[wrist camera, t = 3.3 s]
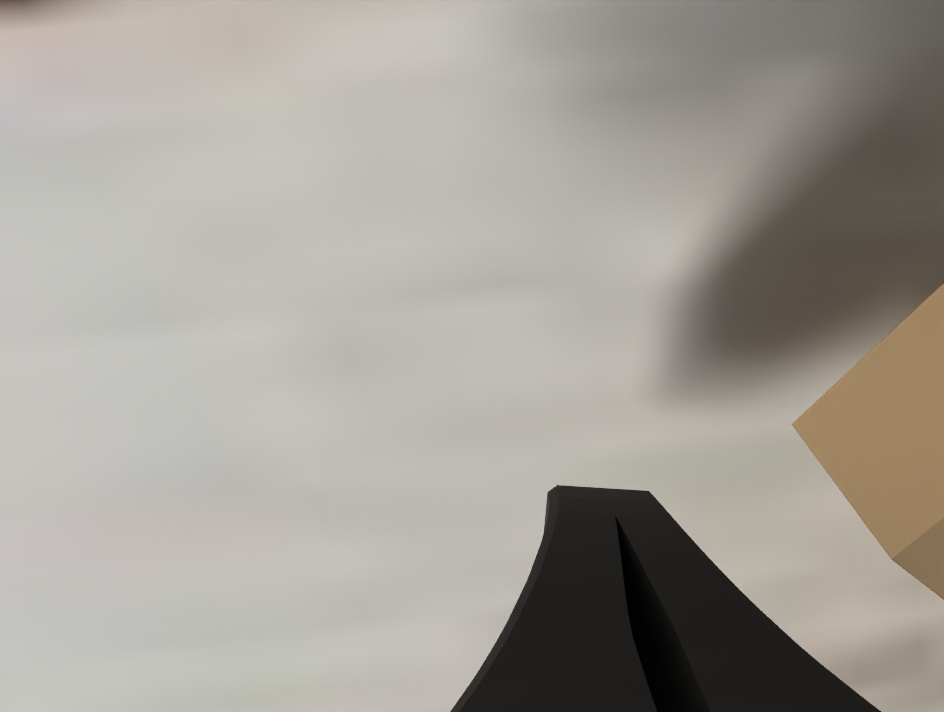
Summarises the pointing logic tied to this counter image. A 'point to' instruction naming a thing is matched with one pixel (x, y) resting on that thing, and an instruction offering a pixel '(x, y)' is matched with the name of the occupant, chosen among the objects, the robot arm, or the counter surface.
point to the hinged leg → (892, 441)
